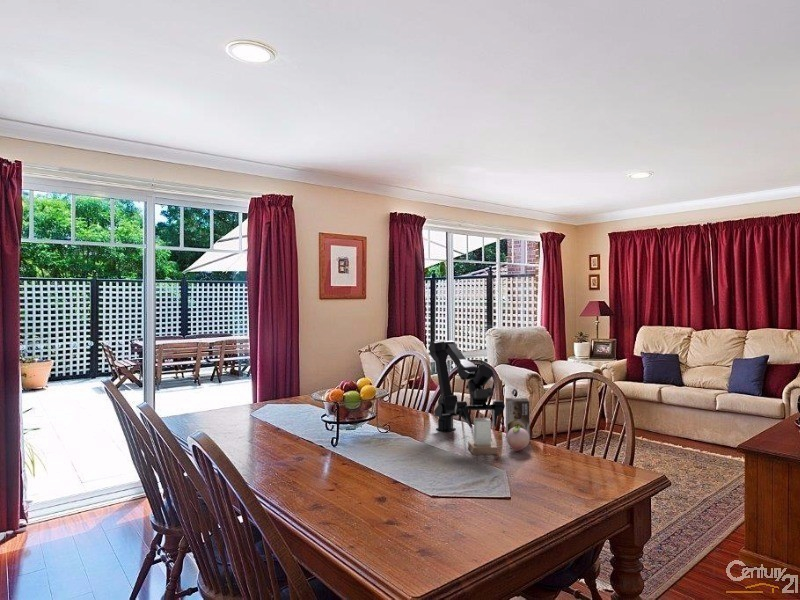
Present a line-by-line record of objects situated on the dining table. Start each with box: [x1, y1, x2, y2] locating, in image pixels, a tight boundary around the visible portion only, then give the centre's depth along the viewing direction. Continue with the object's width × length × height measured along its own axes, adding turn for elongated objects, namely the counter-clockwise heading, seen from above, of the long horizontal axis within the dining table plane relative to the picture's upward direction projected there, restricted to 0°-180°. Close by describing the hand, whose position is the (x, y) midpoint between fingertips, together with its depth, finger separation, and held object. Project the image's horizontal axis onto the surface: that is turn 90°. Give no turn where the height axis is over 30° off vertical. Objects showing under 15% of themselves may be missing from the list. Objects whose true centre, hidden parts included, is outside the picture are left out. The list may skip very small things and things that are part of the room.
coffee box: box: [505, 397, 531, 441], centre depth 211 cm, size 9×6×16 cm
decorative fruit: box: [506, 425, 530, 452], centre depth 192 cm, size 9×8×10 cm
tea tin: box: [473, 417, 492, 446], centre depth 193 cm, size 4×6×10 cm
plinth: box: [467, 440, 498, 456], centre depth 193 cm, size 9×9×2 cm
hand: (483, 427), depth 192 cm, fingers open, 9 cm apart
